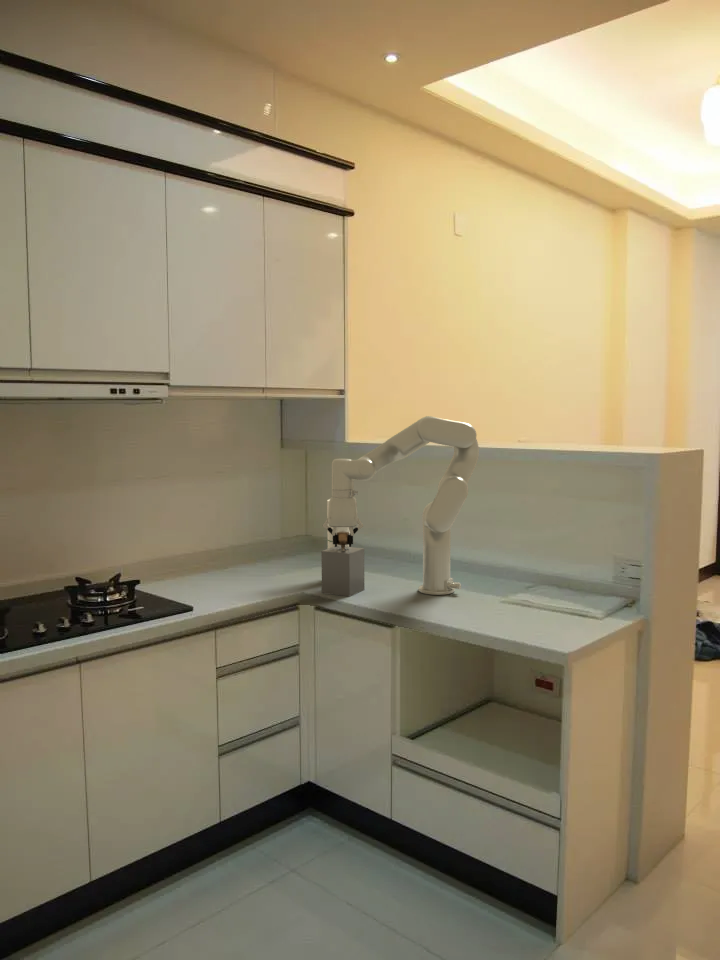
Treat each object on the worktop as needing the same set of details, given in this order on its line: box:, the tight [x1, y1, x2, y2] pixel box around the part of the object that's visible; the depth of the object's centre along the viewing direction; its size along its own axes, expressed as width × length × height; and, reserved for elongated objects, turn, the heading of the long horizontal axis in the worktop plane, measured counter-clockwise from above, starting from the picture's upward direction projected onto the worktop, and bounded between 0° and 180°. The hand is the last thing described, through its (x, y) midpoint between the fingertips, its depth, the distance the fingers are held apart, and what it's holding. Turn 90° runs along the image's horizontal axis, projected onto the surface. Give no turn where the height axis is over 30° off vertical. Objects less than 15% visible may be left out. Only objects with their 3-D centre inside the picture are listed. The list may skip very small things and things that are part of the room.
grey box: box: [320, 546, 365, 598], centre depth 266 cm, size 11×11×15 cm
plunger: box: [337, 532, 349, 551], centre depth 266 cm, size 8×8×20 cm
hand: (343, 545), depth 265 cm, fingers open, 4 cm apart
